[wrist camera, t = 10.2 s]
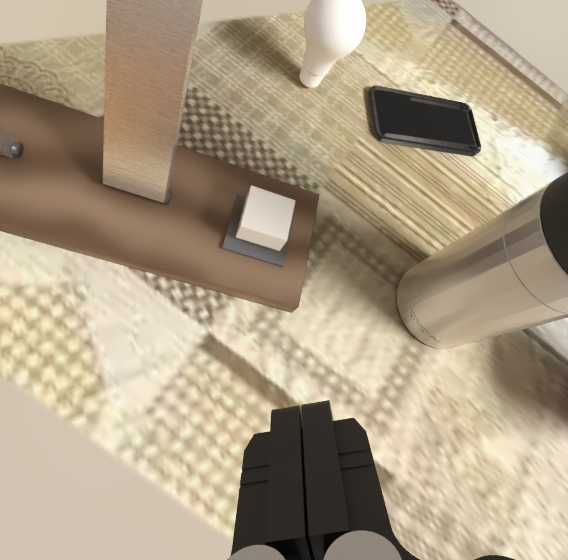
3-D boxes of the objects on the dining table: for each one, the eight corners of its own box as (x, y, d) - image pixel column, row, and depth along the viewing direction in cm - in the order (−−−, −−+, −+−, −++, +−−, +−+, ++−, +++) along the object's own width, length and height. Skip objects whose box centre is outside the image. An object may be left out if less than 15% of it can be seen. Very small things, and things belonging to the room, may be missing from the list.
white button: (276, 254, 37) (287, 240, 34) (233, 241, 36) (240, 226, 33) (285, 216, 38) (295, 200, 35) (243, 202, 37) (251, 185, 35)
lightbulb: (275, 62, 48) (308, -33, 38) (322, 63, 50) (364, -28, 40) (291, 106, 46) (329, 18, 36) (338, 104, 48) (386, 21, 38)
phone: (482, 153, 52) (377, 137, 48) (476, 159, 53) (373, 143, 49) (470, 103, 54) (369, 83, 50) (464, 109, 56) (364, 89, 51)
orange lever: (164, 213, 35) (218, -95, 20) (96, 192, 34) (98, -153, 19) (173, 193, 36) (228, -103, 22) (108, 172, 35) (119, -156, 20)
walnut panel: (291, 312, 38) (300, 305, 36) (-99, 203, 32) (-117, 186, 29) (312, 204, 43) (320, 192, 40) (-25, 89, 36) (-36, 67, 34)
